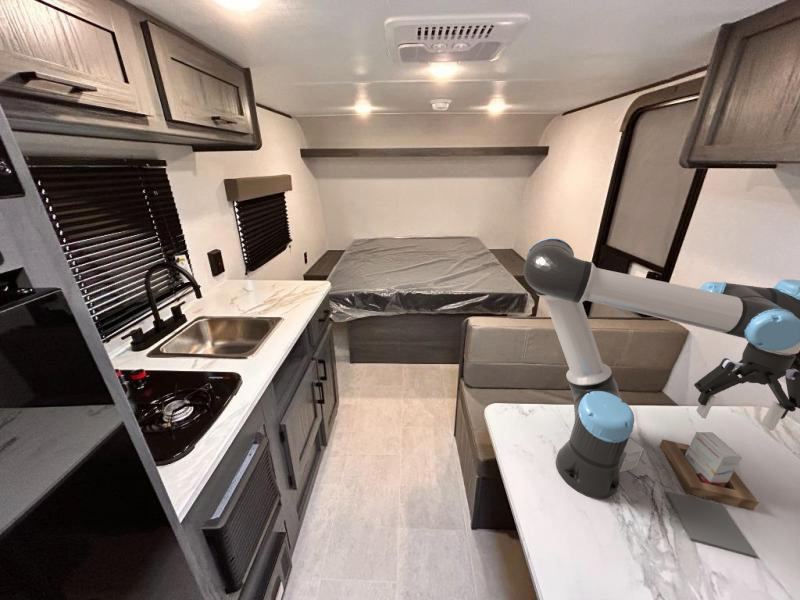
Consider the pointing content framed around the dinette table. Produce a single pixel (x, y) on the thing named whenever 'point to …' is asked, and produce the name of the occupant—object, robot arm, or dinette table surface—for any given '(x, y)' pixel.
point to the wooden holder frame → (691, 484)
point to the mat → (709, 524)
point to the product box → (630, 456)
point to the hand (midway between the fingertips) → (733, 420)
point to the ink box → (712, 459)
